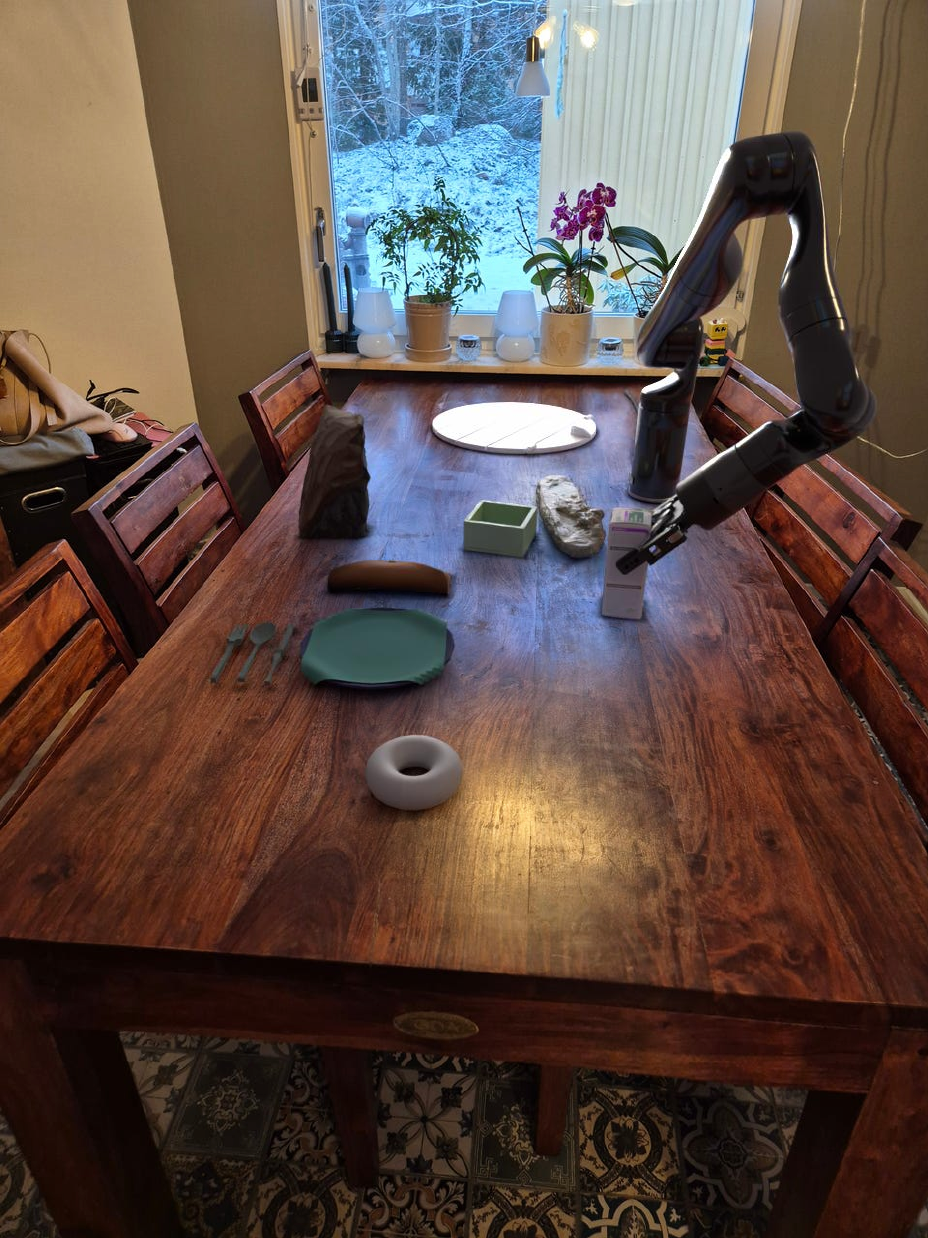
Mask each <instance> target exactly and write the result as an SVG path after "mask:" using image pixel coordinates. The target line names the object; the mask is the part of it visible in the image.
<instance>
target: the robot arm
mask: <svg viewBox="0 0 928 1238" xmlns="http://www.w3.org/2000/svg"><path fill="white" fill-rule="evenodd" d="M821 175H822V174H821V169H820V163H819V159H818V155H817V152H816V149H815V145H814V144H813V141H812V140H811V138H810V136H809V135H807V134H806V133H804V132H803V131H798V130H792V131H791V130H790V131H783V132H781V131H780V132H774V133H769V134H762V135H756V136H750V137H745V138H742V139H739V140H737V141H734V142H733V143H732V144H731V145H730V146H729V147H728V148H727V149H726V150H725V152H724V153H723V155H722V156H721V159H720V160H719V164H718V166H717V167H716V171H715V173H714V175H713V179H712V183H711V184H710V187H709V191H708V193H707V196H706V199H705V201H704V203H703V207H702V210H701V212H700V214H699V217H698V219H697V222H696V224H695V227H694V228H693V230H692V233H691V235H690V236H689V238H688V241H687V243H686V244H685V246H684V248H683V249H682V251H681V253H680V255H679V257H678V259H677V261H676V263H675V265H674V267H673V270H672V271H671V274H670V276H669V278H668V281H667V283H666V284H665V287H664V289H663V290H662V292H661V293H660V295H659V297H658V299H657V300H656V301H655V303H654V304H653V305H652V307H651V308H650V309H649V311H648V312H647V314H646V315H645V317H644V319H643V321H642V323H641V324H640V326H639V330H638V333H637V335H636V336H637V337H636V342H635V353H636V357H637V360H638V362H639V363H640V365H642V366H643V367H645V368H648V369H655V370H669V369H670V370H672V372H671V373H670V374H669V375H667V376H666V377H665V378H663V379H661V380H658V381H657V382H654V383H652V384H649V385H647V386H645V387H643V388H642V389H641V391H640V393H639V401H638V402H637V401H636V399H635V398H634V397H633V395H632V394H631V393H630V392H629V391H628V390H627V389H623V392H624V394H625V395H626V396H627V397H628V399H629V400H630V401H631V403H632V404H633V406H634V407H635V409H636V412H637V420H636V421H637V422H636V430H635V436H634V443H633V451H632V463H631V470H630V471H631V473H630V472H628V481H629V487H628V495H629V496H630V497H631V498H633V499H635V500H638V501H641V502H645V503H655V504H660V505H658V506H657V507H656V508H654V509H653V510H651V511H652V522H651V528H650V529H649V530H648V531H647V532H646V538H645V539H644V540H643V541H642V542H641V543H640V544H639V545H638V546H637V547H636V548H634V549H633V550H631V551H630V552H628V553H627V554H626V555H624V556H623V557H621V558H620V559H618V560H617V561H616V564H615V566H616V567H617V569H618V570H619V571H620V572H621V573H622V574H623V575H627V574H628V573H630V572H631V571H633V570H634V569H636V568H637V567H638V566H640V565H641V564H643V563H644V562H646V561H647V562H648V566H653V565H654V564H656V563H657V562H658V561H660V560H661V559H662V558H664V557H665V556H667V555H668V554H670V553H671V552H672V551H674V550H676V549H677V548H678V547H680V546H681V545H683V544H684V543H686V541H687V540H688V537H687V534H688V533H689V529H690V528H692V526H698V527H699V528H700V529H703V530H704V531H711V530H713V529H715V528H716V527H717V526H720V525H721V524H722V523H724V522H725V521H727V520H729V518H731V517H732V516H735V514H737V513H738V512H740V511H742V510H743V509H744V508H746V507H748V506H749V505H751V504H752V503H753V502H755V501H756V500H757V499H758V498H760V497H761V495H763V494H764V493H765V492H766V491H768V490H769V489H771V488H772V487H773V486H775V485H776V484H778V483H779V482H781V481H782V480H783V479H786V478H787V477H788V476H789V475H791V474H792V473H794V472H795V471H796V470H797V469H799V468H801V467H802V466H804V465H806V464H808V463H811V462H813V461H815V460H817V459H819V458H821V457H824V456H826V455H828V454H830V453H832V452H834V451H836V450H838V449H840V448H842V447H844V446H845V445H847V444H849V443H850V442H852V441H854V440H855V439H856V438H858V437H859V436H860V435H862V434H863V433H864V432H865V431H866V430H867V429H868V428H869V427H870V426H871V424H872V423H873V421H874V420H875V418H876V416H877V411H878V401H877V397H876V394H875V393H874V392H873V390H872V389H871V388H870V387H869V386H868V385H867V384H866V383H865V382H864V380H863V378H862V376H861V373H860V371H859V368H858V366H857V362H856V359H855V355H854V353H853V350H852V344H853V335H852V329H851V325H850V321H849V318H848V314H847V311H846V308H845V306H844V302H843V299H842V296H841V293H840V290H839V286H838V283H837V278H836V275H835V271H834V265H833V259H832V253H831V245H830V238H829V237H830V235H829V229H828V228H829V227H828V220H827V218H828V217H827V211H826V205H825V198H824V197H825V195H824V191H823V182H822V177H821ZM780 215H785V216H786V217H787V219H788V222H789V224H790V228H791V232H792V243H791V248H790V252H789V256H788V258H787V262H786V265H785V268H784V271H783V273H782V276H781V281H780V284H779V289H778V295H777V311H778V317H779V321H780V324H781V328H782V331H783V334H784V338H785V341H786V345H787V348H788V351H789V354H790V356H791V359H792V366H793V375H794V384H795V390H796V395H797V399H798V400H797V401H798V403H799V407H800V409H801V410H799V411H797V412H795V413H794V414H792V415H790V416H788V417H787V418H785V419H771V420H769V421H766V422H765V423H763V424H761V425H760V426H759V427H757V428H756V429H754V430H753V431H751V432H750V433H749V434H747V435H746V436H745V437H744V438H742V439H741V440H739V441H737V443H735V444H733V445H732V446H731V447H729V448H727V449H725V450H723V451H721V452H720V453H718V454H716V455H715V456H714V457H713V458H711V459H710V460H708V461H707V462H706V463H704V464H703V465H701V466H700V467H699V468H697V469H696V470H694V471H693V472H692V473H690V474H689V475H688V476H686V477H685V478H683V479H682V480H681V474H682V468H683V461H684V454H685V448H686V441H687V433H688V427H689V419H690V412H691V406H692V400H693V395H694V393H695V386H696V382H697V381H696V380H697V375H698V369H699V364H700V360H701V355H702V350H703V343H704V336H705V331H704V330H705V329H704V323H703V320H702V317H704V316H706V315H707V314H709V313H711V312H712V311H714V310H715V309H716V308H718V307H719V306H720V305H721V304H722V303H723V302H724V301H725V299H726V298H727V297H728V295H729V294H730V292H731V290H732V289H733V287H734V286H735V284H736V283H737V281H738V279H739V278H740V275H741V273H742V270H743V263H744V256H743V251H742V247H741V244H740V242H739V239H738V238H737V235H736V233H735V231H736V230H737V228H738V227H739V226H740V225H741V224H743V223H744V222H746V221H749V220H756V219H761V218H767V217H768V218H769V217H773V216H780ZM653 547H655V548H654V549H653V550H652V551H651V550H650V549H652V548H653Z"/></svg>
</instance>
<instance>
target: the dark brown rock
mask: <svg viewBox="0 0 928 1238" xmlns="http://www.w3.org/2000/svg"><path fill="white" fill-rule="evenodd" d="M318 421H319V422H318V425H317V428H316V431H315V433H314V436H313V439H312V442H311V445H310V449H309V455H308V456H309V458H308V462H307V466H306V472H305V475H304V478H303V483H302V489H301V494H300V504H299V508H298V520H297V521H298V522H297V523H298V525H297V528H298V532H299V533H298V539H361V538H365V537H368V536H369V533H370V527H369V526H368V523H367V522H368V516H369V511H370V497H369V495H370V494H369V489H368V485H369V482H370V481H371V477H372V476H371V474H370V472H369V470H368V461H367V455H366V453H367V452H366V446H365V445H366V437H367V436H366V433H365V427H364V424H365V417H364V416H363V415H362V414H361V413H353V412H349V411H343V410H340V409H338V407H336V406H334V405H330V404H325V405H324V407H323V411H322V413H321V416H320V418H319V420H318Z"/></svg>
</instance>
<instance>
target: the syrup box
mask: <svg viewBox="0 0 928 1238" xmlns="http://www.w3.org/2000/svg"><path fill="white" fill-rule="evenodd" d="M652 511H653V510H650V509H644V508H637V507H612V508H611V511H610V515H609V520H608V521H609V523H608V533H607V544H606V552H605V553H606V554H605V565H604V576H603V587H602V588H603V589H602V598H601V599H602V601H601V616H605V617H611V618H620V619H629V620H641V618H642V613H643V605H644V599H645V590H646V583H647V577H648V576H647V575H648V566H649V564H648V562H647V561H646V562H644V563H643V564H641V565H640V566H638V567H637V568H636V569H634V570H633V571H631V572H630V573H628V574H627V575H623V574H622V573H621V572H620V571H619V570H618V569H617V567H616V566H615V564H616V561H617V560H618V559H620V558H621V557H623V556H624V555H626V554H627V553H628V552H630V551H631V550H633V549H634V548H636V547H637V546H638V545H639V544H640V543H641V542H642V541H643V540H644V539H645V538H646V532H647V531H648V530H649V529H650V528H651V522H652Z"/></svg>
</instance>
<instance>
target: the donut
mask: <svg viewBox="0 0 928 1238" xmlns="http://www.w3.org/2000/svg"><path fill="white" fill-rule="evenodd" d="M407 768H409V769H410V768H421V769H426V770H427V771H428V772H425V773H424V774H421V775H406V774H403V773H401V771H402V770H405V769H407ZM364 771H365V772H364V775H365V780H366V784H367V788H368V789H369V791H370V792H371V793H372V794H373V796H374V797H375V798H376V799H377V800H378V801H380V802H382V803H383V804H384V805H386V806H388V807H392V808H394V809H398V810H401V811H421V810H426V809H427V810H428V809H431V808H434V807H437V806H438V805H442V804H443V803H445V802H446V801H447V800H449V799H450V798H451V797H453V796H454V795H455V793H456V792H457V790H458V788H459V787H460V785H461V783H462V779H463V771H464V770H463V764H462V761H461V758H460V756H459V754H458V752H457V751H455V749H453V748H452V747H451V745H450V744H447V743H446V742H444V741H442V740H440V739H439V738H435V737H432V736H429V735H423V734H421V735H420V734H410V735H403V736H398V737H396V738H392V739H391V740H387V741H386V742H384V743H383V744H381V745H380V746H378V747H376V749H375V750H374V751H373V753H372V754H371V755H370V756H369V758H368V760H367V764H366V766H365V770H364Z"/></svg>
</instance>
